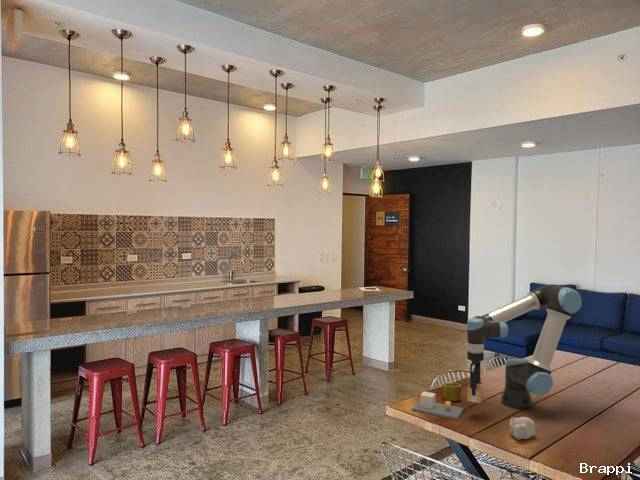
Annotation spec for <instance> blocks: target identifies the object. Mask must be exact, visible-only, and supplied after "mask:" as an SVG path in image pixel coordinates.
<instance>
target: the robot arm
mask: <svg viewBox="0 0 640 480" xmlns="http://www.w3.org/2000/svg"><path fill="white" fill-rule="evenodd" d="M582 303H583V302H582V297H581V295H580V293H579V291H577V290H576V289H574V288H570V287H569V286H568V287H567V286H559V285H555V284H547V285H544V286H541V287H537V288H536V289H533V290H531V291H528V292H527V294H526V295H525V296H523V297H521V298H518V299H516V300H514V301H512V302H509V303H508V304H505V305H503V306H501V307H499V308H496V309H494V310H492V311H490V312H487V313H486V314H484V315H474V316H472V317H471V318H469V319H467V324H466V331H467V332H466V335H467V336H466V337H467V338H466V339H467V340H466V342H467V343H466V344H465V345H466V347H467V352H466V358H467V360H468V361H471V363H470V367H469V370H470V371H469V373H470V375H469V376H470V379H469V386H470V387H469V386H468V387H469V388H471V402H472V403H476V402H477V386H481V385H482V381H481V362H483V361H484V357H485V356H484V355H485V354H484V351H485V340H486V339H502V338H506V337H507V336H508V335H509V327H508V323H507V322H508V321H511V320H513V319H515V318H518V317H520V316H521V315H525V314H526V313H528V312H531V311H533V310H540V309H543V308H545V310H546V312H547V315H546V318H545V321H544V323H543V326H542V328H541V332H540V335H539V337H538V339H537V342H536V346H535V348H534V351H533V354H532V357H531V358H530V359H528V358H527V359H525V358H508V359H506V361H505V367H504V368H505V371H504V372H505V374H504V379H505V380H504V388H503V391H502V393H501V396H500V403H501V404H503V405H505V406H506V407H510V408H514V409H520V410H521V409H522V410H523V409H524V410H525V409H530V408H533V405H534V404H533V398H532V395H531V394H533V395H536V396H543V395H545V394H548V393H549V392H550V391H551V390H552V388H553V385H554V381H553V377H552V376H551V375H552V371H553V370H552V369H551V364H552V361H553V358H554V356H555V354H556V350H557V347H558V344H559V342H560V339H561V336H562V334H563V330H564V327H565V326H566V322H567V321H568V320H570V319H571V318H572V316H573V314H576V313H577V312H578V311H580V309H581V308H582ZM480 384H481V385H480Z"/></svg>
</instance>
